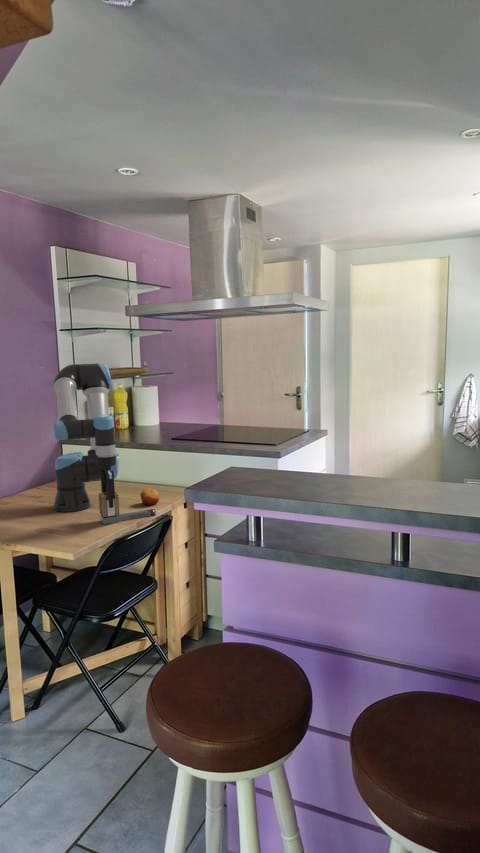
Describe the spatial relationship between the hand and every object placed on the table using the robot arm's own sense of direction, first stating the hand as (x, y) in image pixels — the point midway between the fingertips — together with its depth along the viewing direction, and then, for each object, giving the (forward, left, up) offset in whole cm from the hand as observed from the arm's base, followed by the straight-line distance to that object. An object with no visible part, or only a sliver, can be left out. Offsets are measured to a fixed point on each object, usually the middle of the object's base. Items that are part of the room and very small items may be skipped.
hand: (109, 512), depth 212 cm
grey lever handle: (0, +8, -4) cm, 9 cm away
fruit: (-16, +21, -4) cm, 27 cm away
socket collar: (0, 0, 0) cm, 0 cm away
